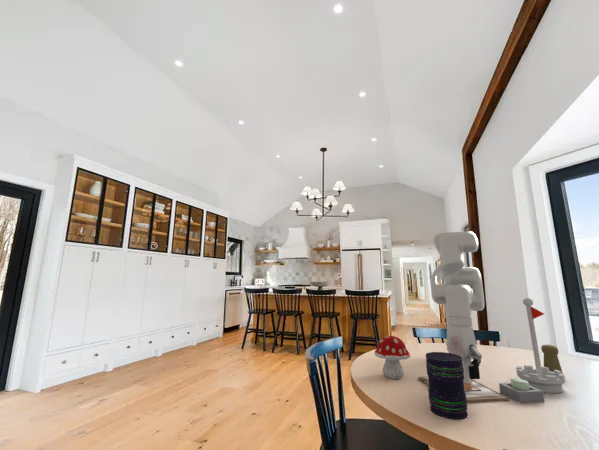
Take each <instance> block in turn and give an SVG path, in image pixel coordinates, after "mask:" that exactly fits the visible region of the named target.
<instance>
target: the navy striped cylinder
mask: <svg viewBox="0 0 599 450" xmlns="http://www.w3.org/2000/svg"><path fill="white" fill-rule="evenodd" d="M425 358H426V359H425V362H426V363H425V365H426V374H427V376H428V378H429V386H428V388H427V389H428V400H429V405H430V406H429V409H430V412H431V413H432V414H434V415H435V416H436V417H439V416H440V417H439V418H442V417H443V418H442V419H446V420H451V419H452V420H451V421H461V420H460V419H463V420H466V419H467V418H468V417H469V413H468V403H467V400H466V393H465V391H464V381H463V380H464V368H463V363H462V357H461V356H459V355H456V354H451V353H449V352H442V351H431V352H427V353H426V354H425ZM467 416H468V417H467ZM465 418H466V419H465Z"/></svg>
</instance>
